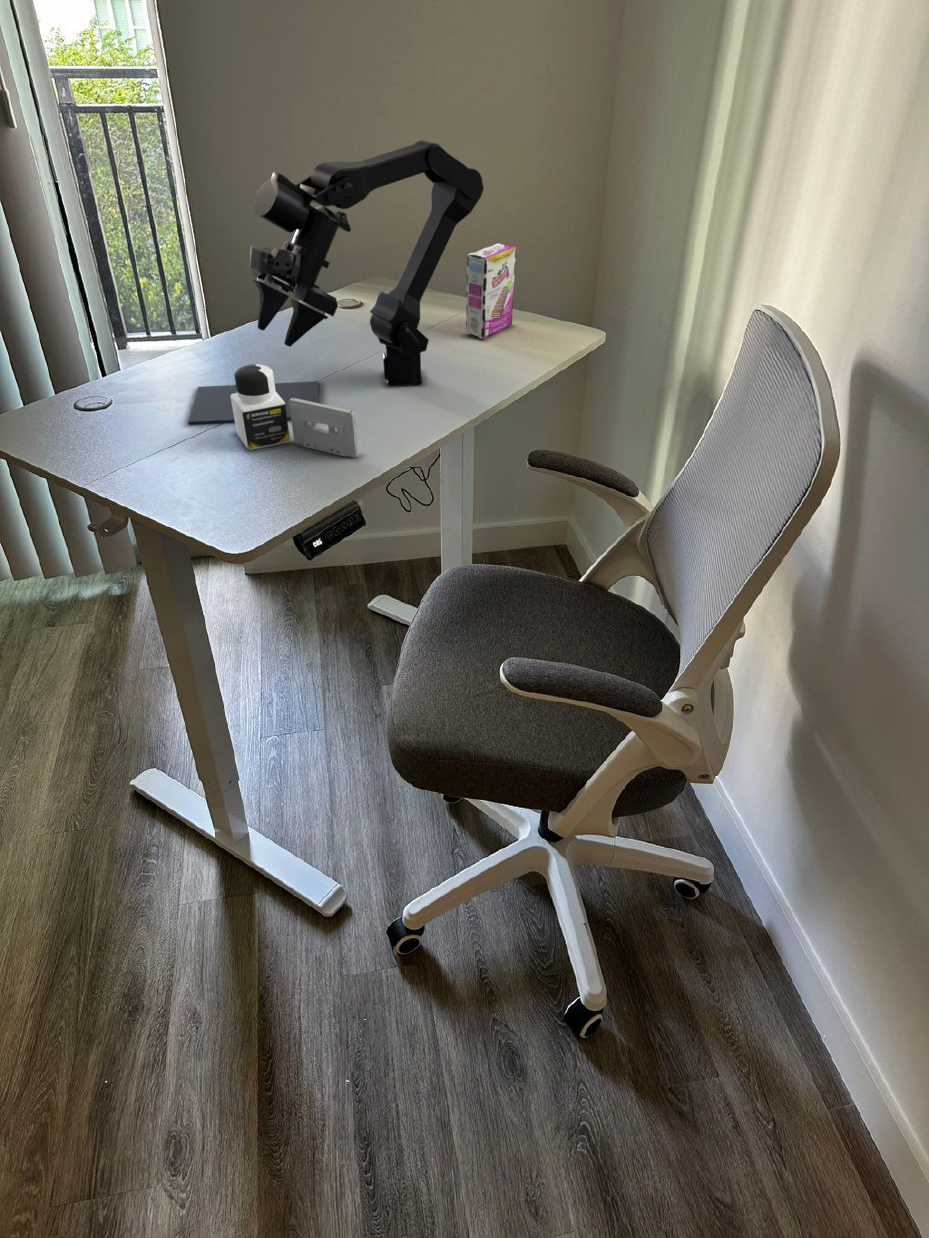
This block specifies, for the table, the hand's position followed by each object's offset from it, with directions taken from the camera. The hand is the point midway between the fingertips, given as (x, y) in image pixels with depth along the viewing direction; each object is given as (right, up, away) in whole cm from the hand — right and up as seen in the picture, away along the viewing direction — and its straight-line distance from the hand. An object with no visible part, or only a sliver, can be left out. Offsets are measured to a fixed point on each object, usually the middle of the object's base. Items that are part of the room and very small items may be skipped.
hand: (273, 337), depth 141 cm
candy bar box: (+37, +15, +42) cm, 58 cm away
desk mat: (-6, -8, +12) cm, 16 cm away
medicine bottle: (-2, -16, +2) cm, 17 cm away
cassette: (+9, -19, -1) cm, 21 cm away
